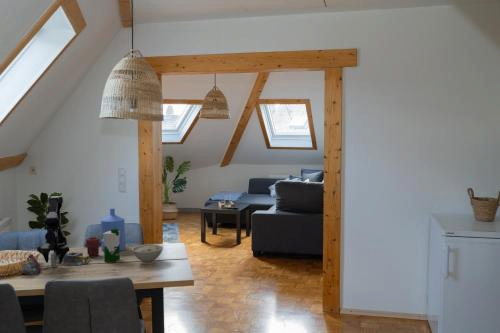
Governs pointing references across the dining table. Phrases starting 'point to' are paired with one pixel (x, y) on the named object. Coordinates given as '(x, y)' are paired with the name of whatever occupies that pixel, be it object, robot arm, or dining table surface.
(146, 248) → the bowl
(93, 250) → the mechanical component
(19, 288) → the dining table surface
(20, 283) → the dining table surface
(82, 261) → the square socket plate
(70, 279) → the dining table surface
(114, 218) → the water jug
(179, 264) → the dining table surface
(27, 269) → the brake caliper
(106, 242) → the milk carton
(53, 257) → the gray square beam
